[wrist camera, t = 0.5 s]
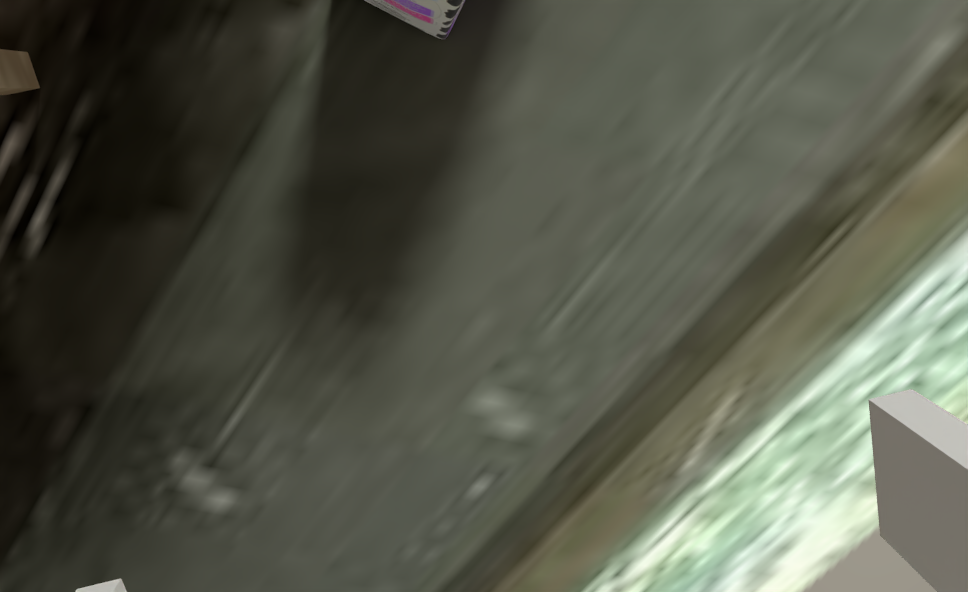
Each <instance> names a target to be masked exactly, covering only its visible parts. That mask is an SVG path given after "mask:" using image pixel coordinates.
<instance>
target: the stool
mask: <svg viewBox="0 0 968 592" xmlns="http://www.w3.org/2000/svg"><path fill="white" fill-rule="evenodd" d="M38 88H40V86H39V83H38V81H37V78H36V75H35V72H34V69H33V66H32V63H31V60H30V57H29V55H28V52H22V51H13V50H3V49H0V95H9V94H14V93H19V92H23V91H28V90H33V89H38Z"/></svg>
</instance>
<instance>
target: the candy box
mask: <svg viewBox="0 0 968 592" xmlns="http://www.w3.org/2000/svg"><path fill="white" fill-rule="evenodd" d="M364 1H366V2H368V3H370V4H372V5H374V6H376V7H378V8H380V9H382V10H383V11H385V12H387V13H389V14H391V15H393V16H395V17H397V18H398V19H400V20H402V21H404V22H406V23H408V24H410V25H411V26H413V27H415V28H417V29H419V30H421V31H423V32H426V33H428V34H430V35H432V36H435V37H437V38H439V39H446V38H447V37H448V35H449V33H450V31H451V29H452V27H453V25H454V23H455V21H456V19H457V17H458V14H459V12H460V10H461V8H462V6H463V4H464V2H465V0H364Z"/></svg>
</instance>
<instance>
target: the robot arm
mask: <svg viewBox="0 0 968 592" xmlns="http://www.w3.org/2000/svg"><path fill="white" fill-rule="evenodd" d="M869 410H870V422H871V433H872V445H873V457H874V468H875V480H876V492H877V503H878V515H879V527H880V536H881V537H882V538H883V539H884V540H886V541H887V543H888V544H889V545H891V547H893V549H895V550H896V552H897V553H899V555H901V556H902V557H903V558H904V559H905V560H906V561H907V562H908V563H909V564H910V565H911V566H912V567H913V568H914V569H915V570H916V571H917V572H918V573H919V574H920V575H921V576H922V577H923V578H924V579H925V580H926V581H927V582H928V583H929V584H930V585H931V586H932V587H933V588H934V589H935V590H936V591H937V592H968V424H967V423H965V422H964V421H962V420H960V419H959V418H957V417H956V416H954V415H952V414H951V413H949V412H948V411H946V410H944V409H943V408H941V407H939V406H938V405H936V404H935V403H933V402H931V401H930V400H928V399H927V398H925V397H923V396H922V395H920V394H919V393H917V392H915V391H914V390H912V389H910V390H906V391H902V392H898V393H893V394H889V395H885V396H881V397H877V398H873V399H869ZM75 592H127V591H126V589H125V586H124V584H123V582H122V579H117V580H113V581H109V582H104V583H100V584H96V585H92V586H88V587H83V588H79V589H77V590H76V591H75Z"/></svg>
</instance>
